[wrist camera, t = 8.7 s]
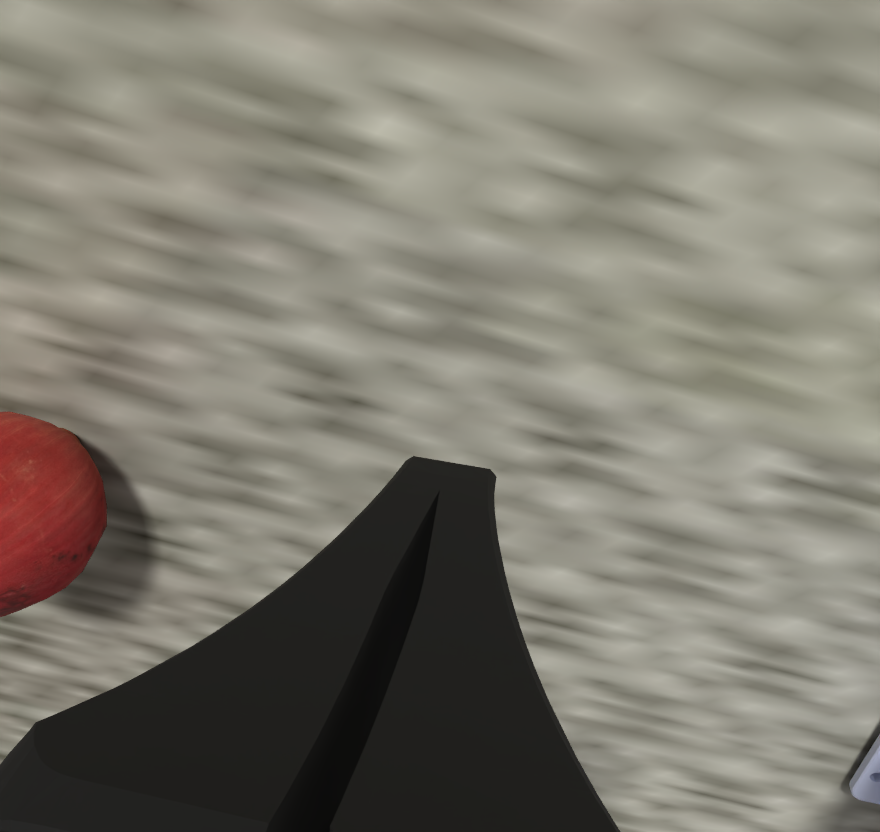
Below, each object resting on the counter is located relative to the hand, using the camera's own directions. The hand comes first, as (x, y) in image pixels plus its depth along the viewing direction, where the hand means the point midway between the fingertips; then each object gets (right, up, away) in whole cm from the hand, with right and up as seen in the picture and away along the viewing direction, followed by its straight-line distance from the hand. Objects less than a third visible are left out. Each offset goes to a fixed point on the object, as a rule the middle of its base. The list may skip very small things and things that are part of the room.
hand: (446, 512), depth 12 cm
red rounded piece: (-12, +1, +14) cm, 19 cm away
